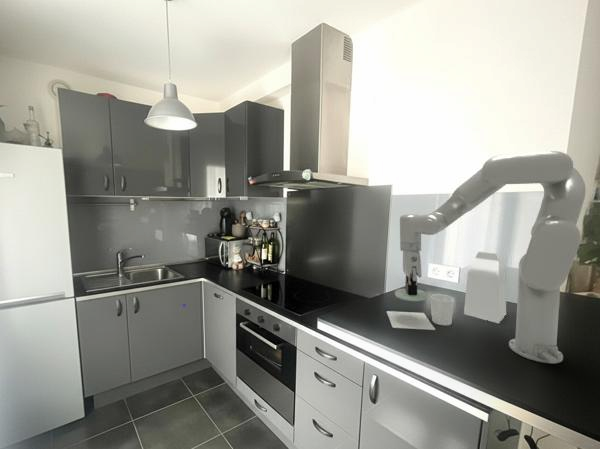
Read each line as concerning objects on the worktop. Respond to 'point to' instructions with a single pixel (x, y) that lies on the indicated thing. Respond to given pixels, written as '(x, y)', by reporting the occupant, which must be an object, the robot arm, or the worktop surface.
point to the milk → (486, 288)
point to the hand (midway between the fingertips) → (411, 292)
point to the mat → (409, 320)
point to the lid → (404, 295)
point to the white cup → (442, 309)
